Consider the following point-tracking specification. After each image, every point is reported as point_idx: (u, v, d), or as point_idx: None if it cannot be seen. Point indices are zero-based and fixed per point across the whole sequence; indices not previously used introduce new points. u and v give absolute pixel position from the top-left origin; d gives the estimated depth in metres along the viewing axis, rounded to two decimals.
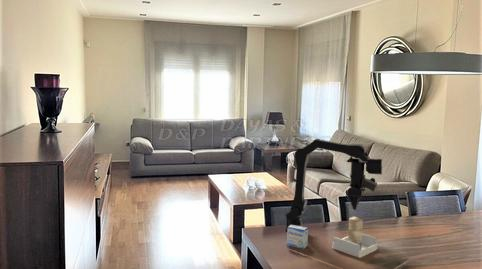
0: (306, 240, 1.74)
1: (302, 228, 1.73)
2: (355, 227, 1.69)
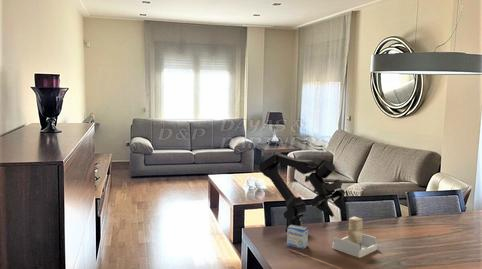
0: (306, 240, 1.74)
1: (302, 228, 1.73)
2: (355, 227, 1.69)
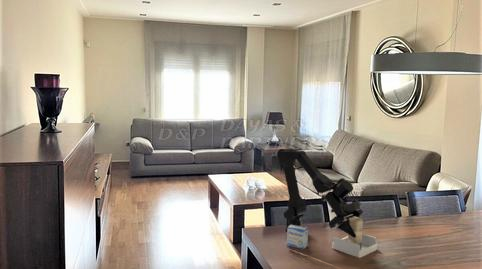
0: (306, 240, 1.74)
1: (302, 228, 1.73)
2: (355, 227, 1.69)
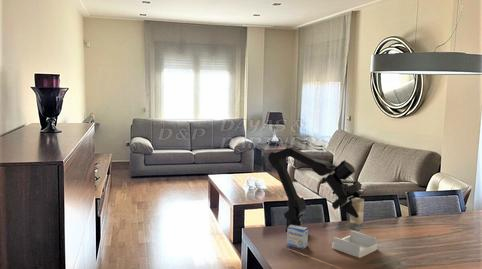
0: (306, 240, 1.74)
1: (302, 228, 1.73)
2: (358, 207, 1.74)
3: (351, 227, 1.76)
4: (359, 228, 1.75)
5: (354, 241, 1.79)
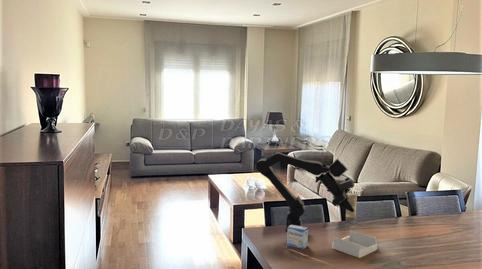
0: (306, 240, 1.74)
1: (302, 228, 1.73)
2: (354, 202, 1.86)
3: (347, 221, 1.88)
4: (354, 221, 1.87)
5: (354, 241, 1.79)
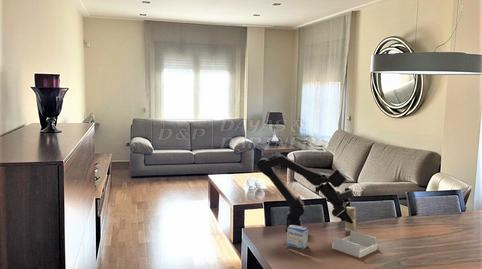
0: (306, 240, 1.74)
1: (302, 228, 1.73)
2: (353, 216, 1.87)
3: (347, 235, 1.88)
4: None
5: (354, 241, 1.79)
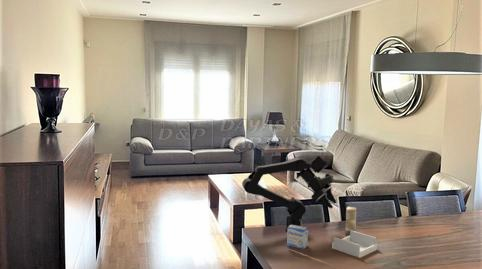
0: (306, 240, 1.74)
1: (302, 228, 1.73)
2: (353, 216, 1.86)
3: (347, 235, 1.88)
4: None
5: (354, 241, 1.79)
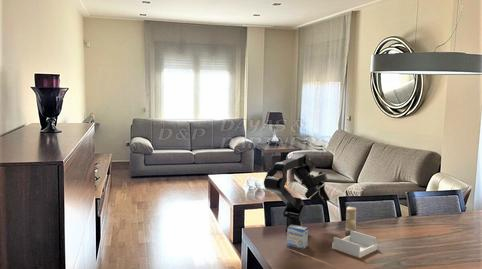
0: (306, 240, 1.74)
1: (302, 228, 1.73)
2: (353, 216, 1.86)
3: (347, 235, 1.88)
4: None
5: (354, 241, 1.79)
